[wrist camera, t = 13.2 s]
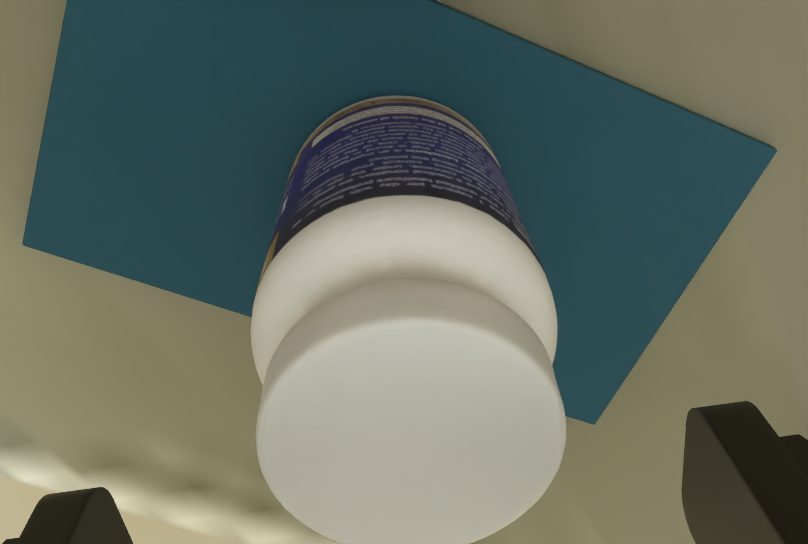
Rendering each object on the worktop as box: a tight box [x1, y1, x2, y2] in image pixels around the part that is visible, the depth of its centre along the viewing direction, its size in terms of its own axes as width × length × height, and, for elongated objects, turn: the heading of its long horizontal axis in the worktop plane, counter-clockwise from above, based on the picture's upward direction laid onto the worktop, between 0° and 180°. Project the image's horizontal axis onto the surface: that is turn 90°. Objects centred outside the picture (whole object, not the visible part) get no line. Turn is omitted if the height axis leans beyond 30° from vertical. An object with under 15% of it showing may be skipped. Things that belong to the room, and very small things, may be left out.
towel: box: [23, 0, 777, 424], centre depth 20 cm, size 18×10×1 cm, turn 68°
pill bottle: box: [251, 95, 566, 544], centre depth 15 cm, size 6×6×10 cm
